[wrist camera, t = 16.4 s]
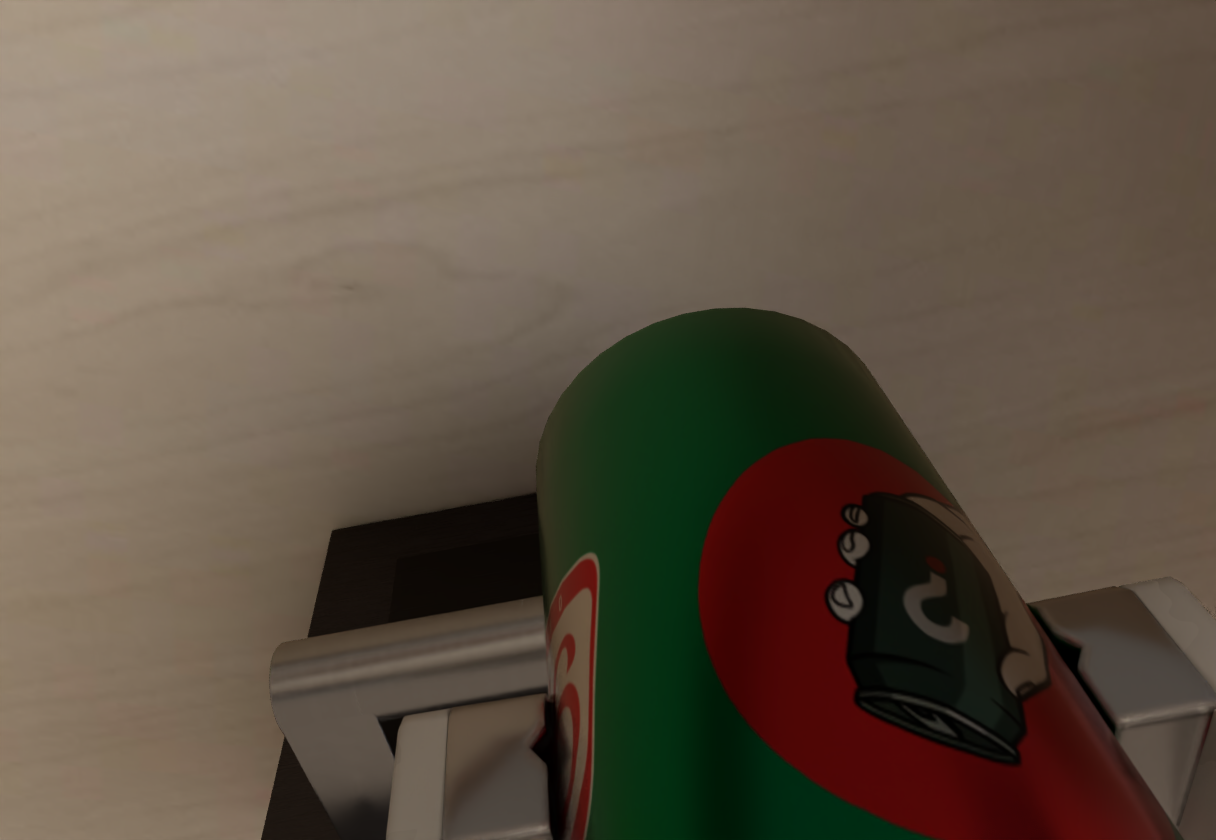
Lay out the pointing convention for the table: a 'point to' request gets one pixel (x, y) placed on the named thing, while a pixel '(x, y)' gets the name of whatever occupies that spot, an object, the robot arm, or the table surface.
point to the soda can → (792, 615)
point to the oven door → (400, 655)
